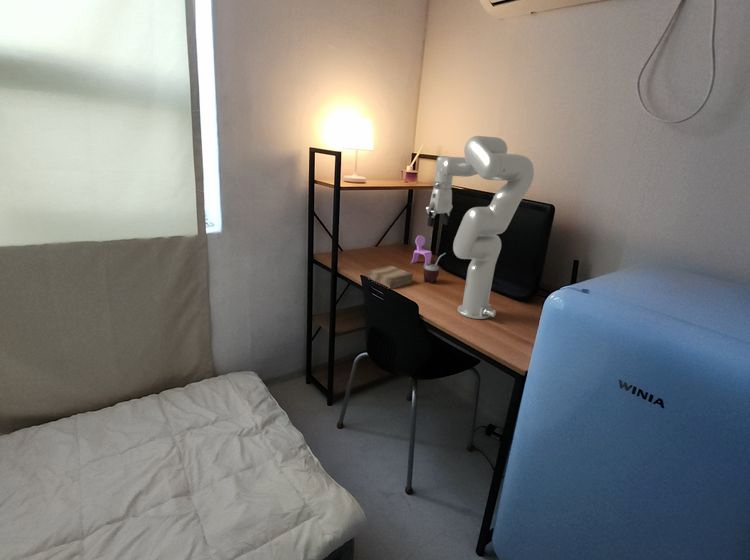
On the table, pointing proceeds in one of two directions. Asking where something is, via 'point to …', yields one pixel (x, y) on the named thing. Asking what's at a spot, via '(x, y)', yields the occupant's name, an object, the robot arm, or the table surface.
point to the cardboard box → (391, 276)
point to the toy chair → (421, 251)
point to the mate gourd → (431, 272)
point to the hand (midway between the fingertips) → (437, 225)
